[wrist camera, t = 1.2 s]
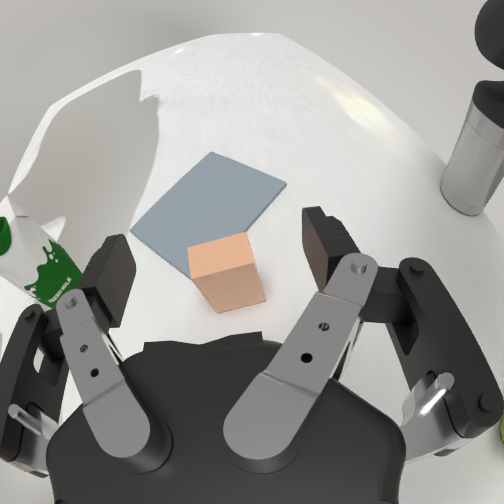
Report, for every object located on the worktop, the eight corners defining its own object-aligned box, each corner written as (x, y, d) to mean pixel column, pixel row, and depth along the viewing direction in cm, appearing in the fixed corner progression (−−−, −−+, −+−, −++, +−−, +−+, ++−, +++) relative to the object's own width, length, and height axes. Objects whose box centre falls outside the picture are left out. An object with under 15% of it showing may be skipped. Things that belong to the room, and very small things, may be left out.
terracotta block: (265, 301, 35) (254, 262, 26) (217, 313, 35) (190, 279, 26) (259, 276, 36) (246, 231, 28) (213, 288, 36) (187, 247, 28)
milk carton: (63, 322, 37) (-33, 260, 20) (44, 290, 40) (-35, 227, 23) (96, 282, 40) (8, 203, 23) (74, 254, 43) (0, 180, 26)
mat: (211, 153, 50) (210, 151, 49) (286, 185, 43) (286, 182, 43) (130, 232, 43) (129, 230, 43) (199, 285, 37) (198, 284, 36)
